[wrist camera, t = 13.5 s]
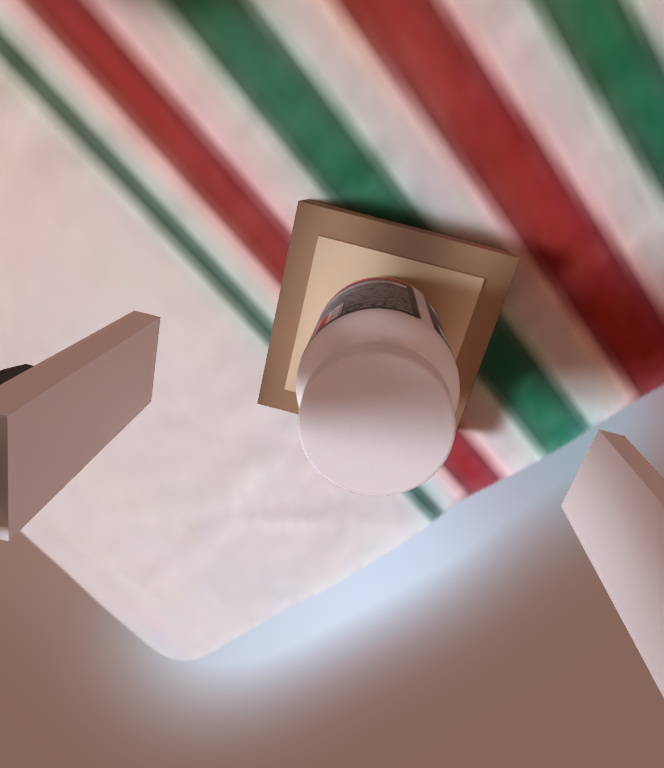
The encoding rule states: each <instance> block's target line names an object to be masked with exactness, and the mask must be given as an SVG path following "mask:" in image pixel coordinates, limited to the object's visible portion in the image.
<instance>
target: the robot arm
mask: <svg viewBox="0 0 664 768" xmlns="http://www.w3.org/2000/svg"><path fill="white" fill-rule="evenodd" d="M159 325H160V317H157V316H154V315H150V314H146V313H142V312H138V311H133V312H131V313H129V314H128V315H126V316H124V317H122V318H120V319H119V320H117V321H115V322H113V323H111V324H110V325H108V326H106V327H104V328H102V329H100V330H99V331H97V332H95V333H93V334H91V335H90V336H88V337H86V338H84V339H82V340H81V341H79V342H77V343H75V344H73V345H72V346H70V347H68V348H66V349H64V350H62V351H61V352H59V353H57V354H55V355H53V356H52V357H50V358H48V359H46V360H44V361H43V362H41V363H39V364H37V365H35V366H32V365H28V364H24V365H20V366H16V367H12V368H7V369H3V370H1V371H0V539H2V540H6V541H9V540H10V539H11V538H12V537H13V536H14V535H15V534H16V533H17V532H19V531H20V530H21V529H22V528H23V527H24V526H25V525H26V524H27V523H28V522H29V521H30V520H31V519H32V518H33V517H34V516H35V515H36V514H37V513H38V512H39V511H40V510H41V509H42V508H43V507H44V506H45V505H46V504H47V503H48V502H49V501H50V500H51V499H52V498H53V497H54V496H55V495H56V494H57V493H58V492H59V491H60V490H61V489H62V488H63V487H64V486H65V485H66V484H67V483H68V482H69V481H70V480H71V479H72V478H73V477H75V476H76V475H77V474H78V473H79V472H80V471H81V470H82V469H83V468H84V467H85V466H86V465H87V464H88V463H89V462H90V461H91V460H92V459H93V458H94V457H95V456H96V455H97V454H98V453H99V452H100V451H101V450H102V449H103V448H104V447H105V446H106V445H107V444H108V443H109V442H110V441H111V440H112V439H113V438H114V437H115V436H116V435H117V434H118V433H119V432H120V431H121V430H122V429H123V428H124V427H125V426H126V425H127V424H128V423H129V422H130V421H132V420H133V419H134V418H135V417H136V416H137V415H138V414H139V413H140V412H141V411H142V410H143V409H144V408H145V407H146V406H147V405H148V404H149V403H150V402H151V397H152V388H153V379H154V370H155V361H156V352H157V343H158V334H159ZM561 507H562V508H563V510H564V512H565V514H566V516H567V518H568V520H569V522H570V523H571V525H572V527H573V529H574V531H575V533H576V535H577V537H578V538H579V540H580V542H581V544H582V546H583V548H584V550H585V551H586V553H587V555H588V557H589V558H590V561H591V563H592V564H593V566H594V568H595V570H596V572H597V574H598V576H599V578H600V579H601V581H602V583H603V585H604V587H605V589H606V591H607V592H608V594H609V596H610V598H611V600H612V602H613V603H614V605H615V607H616V609H617V611H618V613H619V615H620V617H621V619H622V620H623V622H624V624H625V626H626V628H627V630H628V632H629V634H630V635H631V637H632V639H633V641H634V643H635V645H636V647H637V648H638V650H639V652H640V654H641V656H642V658H643V660H644V661H645V663H646V665H647V667H648V669H649V671H650V673H651V675H652V676H653V678H654V680H655V682H656V684H657V686H658V688H659V689H660V691H661V693H662V695H663V697H664V478H663V477H662V476H661V475H660V474H659V473H658V472H657V471H656V470H655V469H654V468H653V466H652V465H651V464H650V463H649V462H648V461H647V460H646V459H645V458H644V457H643V456H642V455H641V453H640V452H639V451H638V450H637V449H636V448H635V447H634V446H633V445H632V444H631V443H630V442H629V440H628V439H627V438H626V437H625V436H622V435H618V434H615V433H611V432H606V431H602V430H599V431H598V433H597V435H596V437H595V439H594V441H593V443H592V445H591V447H590V449H589V451H588V453H587V455H586V457H585V459H584V461H583V463H582V465H581V467H580V469H579V471H578V473H577V475H576V477H575V479H574V481H573V483H572V485H571V487H570V489H569V491H568V493H567V495H566V497H565V499H564V501H563V503H562V505H561Z"/></svg>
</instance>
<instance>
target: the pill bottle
mask: <svg viewBox="0 0 664 768" xmlns="http://www.w3.org/2000/svg"><path fill="white" fill-rule="evenodd" d="M459 393H460V382H459V374H458V369H457V364H456V361H455V358H454V355H453V353H452V350H451V348H450V345H449V343H448V341H447V338H446V335H445V333H444V331H443V328H442V325H441V323H440V320H439V318H438V315H437V313H436V311H435V309H434V308H433V306H432V304H431V303H430V302H429V301H428V299H427V298H426V297H425V296H424V295H423V294H422V293H421V292H420V291H419V290H417V289H416V288H414V287H413V286H411V285H409V284H407V283H405V282H403V281H400V280H397V279H394V278H388V277H371V278H365V279H361V280H358V281H355V282H353V283H351V284H349V285H347V286H346V287H344V288H343V289H341V290H340V291H339V292H338V293H337V294H335V295H334V297H333V298H332V299H331V300H330V301H329V302H328V304H327V305H326V306H325V308H324V310H323V311H322V314H321V315H320V318H319V320H318V323H317V325H316V327H315V329H314V331H313V333H312V335H311V338H310V340H309V342H308V344H307V346H306V349H305V350H304V353H303V355H302V357H301V360H300V364H299V367H298V371H297V377H296V396H297V402H298V406H299V413H298V432H299V438H300V442H301V445H302V448H303V450H304V452H305V454H306V456H307V458H308V459H309V461H310V462H311V463H312V465H313V466H314V467H315V469H316V470H317V471H318V472H319V473H320V474H321V475H322V476H324V477H325V478H326V479H327V480H329V481H330V482H331V483H333V484H335V485H337V486H339V487H341V488H343V489H345V490H348V491H350V492H353V493H357V494H362V495H368V496H389V495H394V494H399V493H403V492H406V491H409V490H411V489H413V488H416V487H418V486H419V485H421V484H422V483H424V482H425V481H427V480H428V479H430V478H431V477H432V476H433V475H434V474H435V473H436V472H437V471H438V470H439V469H440V468H441V467H442V465H443V464H444V462H445V461H446V459H447V457H448V455H449V453H450V451H451V449H452V445H453V442H454V438H455V430H456V419H455V413H456V410H457V406H458V401H459Z"/></svg>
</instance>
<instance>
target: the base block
mask: <svg viewBox="0 0 664 768" xmlns="http://www.w3.org/2000/svg"><path fill="white" fill-rule="evenodd" d="M519 260H520V258H519V257H517V256H515V255H513V254H511V253H510V252H508V251H506V250H502V249H499V248H495V247H491V246H487V245H483V244H479V243H475V242H472V241H468V240H464V239H460V238H456V237H452V236H448V235H444V234H441V233H437V232H433V231H429V230H425V229H421V228H417V227H414V226H410V225H406V224H402V223H398V222H394V221H390V220H386V219H383V218H379V217H375V216H371V215H367V214H363V213H359V212H355V211H352V210H348V209H344V208H340V207H336V206H332V205H328V204H325V203H321V202H317V201H313V200H309V199H307V200H301V201H298V206H297V211H296V216H295V221H294V226H293V230H292V235H291V240H290V245H289V250H288V255H287V260H286V265H285V270H284V275H283V280H282V285H281V290H280V295H279V300H278V305H277V310H276V314H275V319H274V324H273V329H272V334H271V339H270V344H269V349H268V354H267V359H266V364H265V369H264V374H263V379H262V384H261V389H260V393H259V398H258V404H261V405H265V406H269V407H273V408H277V409H281V410H284V411H288V412H292V413H296V414H298V413H299V406H298V402H297V396H296V377H297V371H298V367H299V364H300V360H301V357H302V355H303V353H304V350H305V349H306V346H307V344H308V342H309V340H310V338H311V335H312V333H313V331H314V329H315V327H316V325H317V323H318V320H319V318H320V315H321V314H322V311H323V310H324V308H325V306H326V305H327V304H328V302H329V301H330V300H331V299H332V298H333V297H334V295H335V294H337V293H338V292H339V291H340V290H341V289H343V288H344V287H346V286H347V285H349V284H351V283H353V282H355V281H358V280H361V279H365V278H371V277H388V278H394V279H397V280H400V281H403V282H405V283H407V284H409V285H411V286H413V287H414V288H416V289H417V290H419V291H420V292H421V293H422V294H423V295H424V296H425V297H426V298H427V299H428V301H429V302H430V303H431V304H432V306H433V308H434V309H435V311H436V313H437V315H438V318H439V320H440V323H441V325H442V328H443V331H444V333H445V335H446V338H447V341H448V343H449V345H450V348H451V350H452V353H453V355H454V358H455V361H456V364H457V369H458V374H459V382H460V393H459V401H458V406H457V410H456V413H455V419H456V430H457V428H458V425H459V422H460V419H461V417H462V414H463V411H464V409H465V406H466V403H467V401H468V398H469V395H470V392H471V390H472V387H473V384H474V382H475V379H476V376H477V373H478V371H479V368H480V365H481V363H482V360H483V357H484V355H485V352H486V349H487V346H488V344H489V341H490V338H491V336H492V333H493V330H494V327H495V325H496V322H497V319H498V317H499V314H500V311H501V309H502V306H503V303H504V300H505V298H506V295H507V292H508V290H509V287H510V284H511V281H512V279H513V276H514V273H515V271H516V268H517V265H518V263H519ZM456 430H455V433H456Z"/></svg>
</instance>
